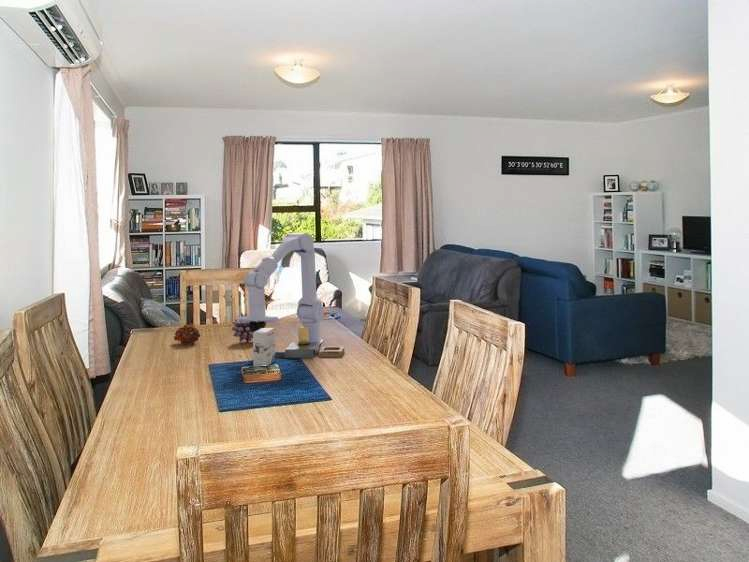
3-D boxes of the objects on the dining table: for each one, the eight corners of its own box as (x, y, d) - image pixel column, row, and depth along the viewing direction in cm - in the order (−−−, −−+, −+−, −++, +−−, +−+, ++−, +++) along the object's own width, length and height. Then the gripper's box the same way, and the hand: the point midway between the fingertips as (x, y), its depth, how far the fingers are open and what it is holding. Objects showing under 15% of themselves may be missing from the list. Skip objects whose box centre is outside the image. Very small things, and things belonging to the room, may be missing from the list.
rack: (322, 352, 228) (322, 346, 228) (344, 352, 228) (344, 346, 227) (319, 357, 220) (319, 351, 220) (341, 356, 220) (341, 351, 219)
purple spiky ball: (247, 338, 259) (246, 310, 258) (267, 341, 252) (266, 312, 251) (225, 343, 249) (224, 313, 248) (246, 346, 242) (245, 316, 241)
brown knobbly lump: (198, 349, 246) (177, 351, 253) (209, 334, 252) (188, 336, 258) (185, 334, 242) (165, 336, 248) (197, 319, 248) (176, 321, 254)
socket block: (292, 350, 233) (292, 342, 233) (319, 349, 232) (318, 342, 232) (285, 357, 220) (284, 349, 220) (313, 357, 219) (312, 349, 219)
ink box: (262, 360, 216) (261, 327, 215) (276, 361, 215) (275, 327, 214) (253, 366, 208) (251, 332, 207) (267, 367, 207) (266, 332, 206)
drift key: (271, 355, 224) (270, 347, 224) (295, 355, 224) (295, 347, 223) (268, 357, 221) (268, 349, 221) (293, 357, 221) (293, 349, 220)
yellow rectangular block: (300, 351, 231) (299, 326, 230) (309, 351, 230) (308, 325, 229) (298, 353, 227) (297, 327, 226) (307, 353, 227) (307, 327, 226)
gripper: (233, 306, 218) (235, 344, 219) (274, 306, 217) (275, 344, 218) (239, 304, 225) (240, 341, 226) (278, 303, 224) (280, 340, 225)
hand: (258, 342), depth 223 cm, fingers closed
